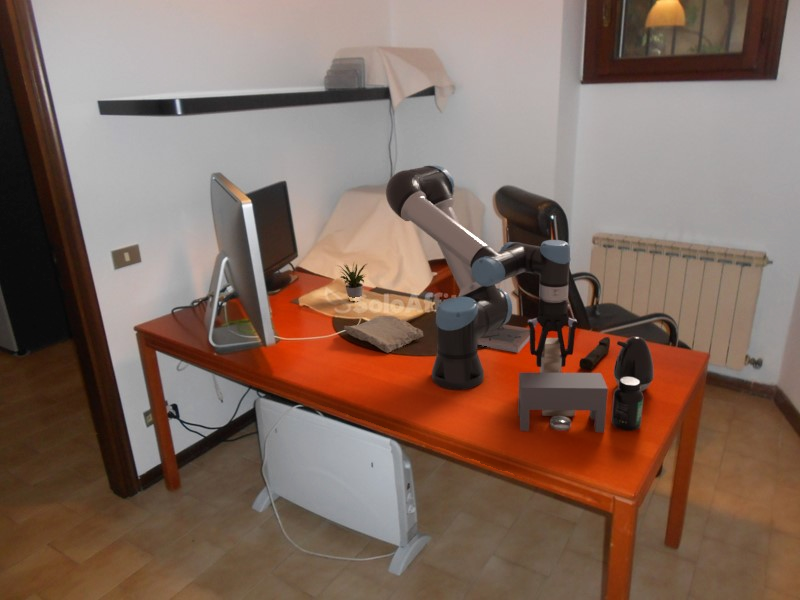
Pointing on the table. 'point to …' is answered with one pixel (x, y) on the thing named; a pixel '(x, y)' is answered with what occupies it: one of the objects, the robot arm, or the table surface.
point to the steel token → (560, 423)
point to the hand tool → (595, 354)
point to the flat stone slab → (385, 332)
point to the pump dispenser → (634, 361)
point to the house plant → (353, 281)
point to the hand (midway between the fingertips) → (550, 376)
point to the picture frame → (506, 338)
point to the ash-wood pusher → (553, 371)
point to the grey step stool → (562, 395)
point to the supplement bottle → (627, 404)
